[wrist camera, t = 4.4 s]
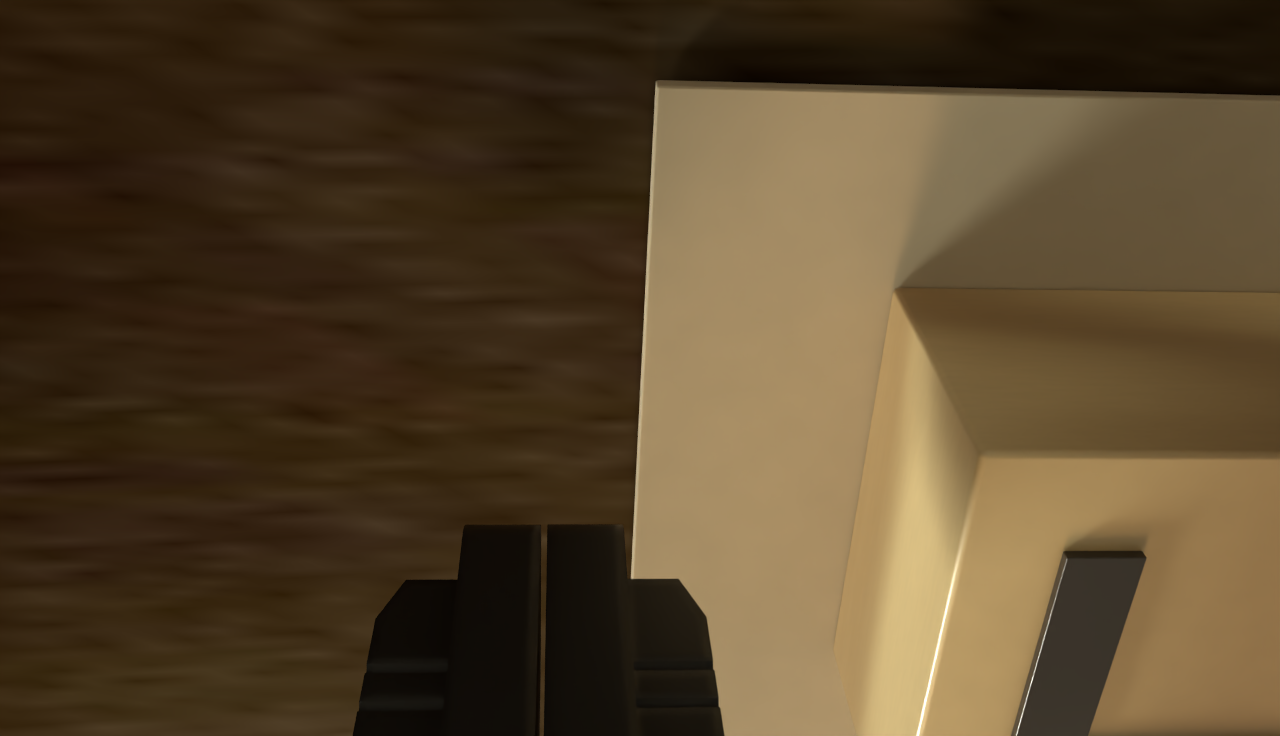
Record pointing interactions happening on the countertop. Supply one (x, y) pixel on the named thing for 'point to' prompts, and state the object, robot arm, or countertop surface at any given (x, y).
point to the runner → (879, 309)
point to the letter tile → (1069, 517)
